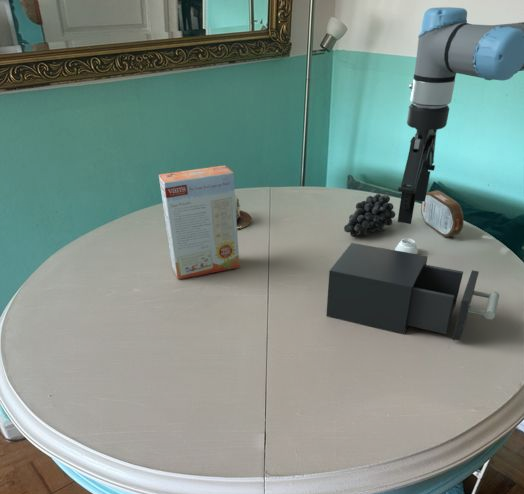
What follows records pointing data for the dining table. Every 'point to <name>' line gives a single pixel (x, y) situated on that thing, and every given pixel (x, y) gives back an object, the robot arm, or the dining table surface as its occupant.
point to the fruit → (370, 215)
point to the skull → (241, 215)
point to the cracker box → (200, 220)
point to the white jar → (407, 246)
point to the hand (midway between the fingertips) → (411, 210)
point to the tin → (442, 213)
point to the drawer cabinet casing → (373, 286)
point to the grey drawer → (445, 300)
